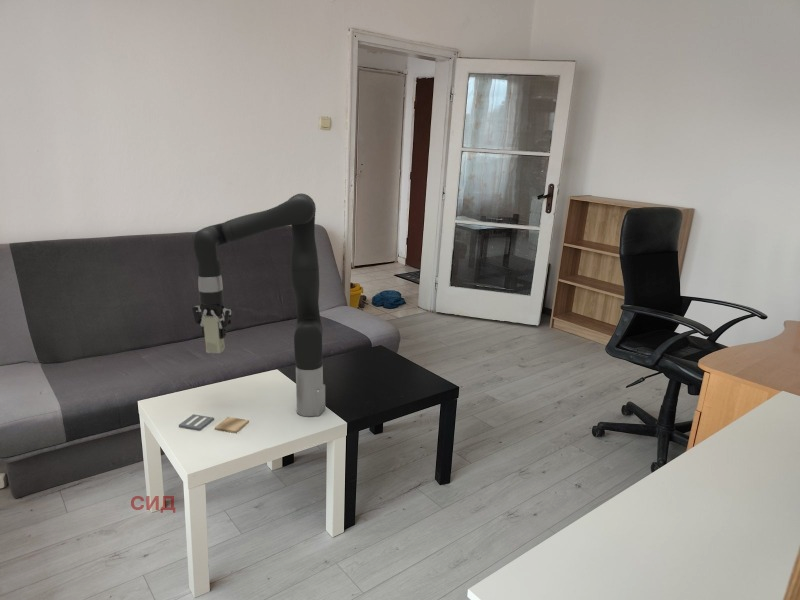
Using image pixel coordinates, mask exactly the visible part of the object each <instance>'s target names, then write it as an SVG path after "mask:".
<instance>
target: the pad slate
mask: <svg viewBox="0 0 800 600" xmlns="http://www.w3.org/2000/svg"><path fill="white" fill-rule="evenodd" d="M214 420H215V417H213V416H206V415H200V414H192V415H190V416H189V417H187V418H186V419H185V420H183V421H181V422H180V423H179V424H178V428H180V429H181V428H182V429H188V430H193V431H198V432H199V431H202V430H203V429H204V428H205V427H207V426H208V425H210V424H211V423H212V422H213V421H214Z"/></svg>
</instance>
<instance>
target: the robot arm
mask: <svg viewBox="0 0 800 600" xmlns="http://www.w3.org/2000/svg"><path fill="white" fill-rule="evenodd" d="M316 209H317V208H316V203H315V201H314V199H313V198H312V197H311V196H309V194H306V193H296V194H294V195H293V196H291V197H289V198H288V199H287V200H286V201H283V202H282V203H280V204H278V205H277V206H275V207H272V208H269V209H266V210H262V211H261V210H260V211H258V212H253V213H249V214H245V215H241V216H238V217H235V218H232V219H230V220H229V219H228V220H226V221H224V222H221V223H217V224H212V225H209V226H206V227H203V228H202V229H199V230H197V231H196V232H195V234H194V235H193V238H192V239H193V249H194V254H195V258H196V262H197V273H198V278H197V279H198V280H197V283H198V286H197V287H198V297H199V303H200V305H198V304H197V305H194V306H193V307H192V314H193V317H194V321H195V324H196V325H200V327H201V334H202V337H204V338H205V334H204V324H203V316H213V317H217V322H218V326H219V337H220V339H223V338H224V339H225V338H226V336H227V329H226V328H227V327H229V326H231V324H232V318H233V308H229V309H228V308H226V307H225V305H224V287H223V285H224V284H223V278H222V269H221V267H222V266H221V261H220V258H218V253H217V247H219V246H222V245H225V244H227V243H235V242H237V241H239V242H240V241H241V240H245V239H248V238H251V237H253V236H256V235H260V234H262V233H264V232H268V231H271V230H275V229H277V228H281V227H283V228H284V227H288V226H290V227H291V232H292V233H291V234H292V236H291V237H292V241H291V252H290V264H289V265H290V266H289V267H290V277H291V286H292V290H293V294H294V298H295V301H296V313H297V314H296V315H297V316H296V326H295V331H294V334H293V335H294V336H293V339H294V340H293V344H294V345H293V347H294V361H295V391H296V392H295V393H296V395H295V396H296V413H297V414H298V415H300V416H302V417H315V416H316V417H320V416H321V414H322V413H323V412H324V411H325V410H326V384H324V378H323V377H324V376H323V374H324V371H323V370H324V369H323V367H324V364H323V363H324V361H323V326H322V320H321V315H320V306H319V297H320V266H319V257H318V249H317V243H316V236H315V233H316V232H315V231H316V230H315V229H316V228H315V225H316V224H315V223H316V222H315V221H316ZM220 316H221V318H220V319H219V318H218V317H220Z"/></svg>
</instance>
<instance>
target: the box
mask: <svg viewBox="0 0 800 600" xmlns="http://www.w3.org/2000/svg"><path fill="white" fill-rule="evenodd" d="M202 316H203V315H202ZM218 318H219V319H220V318H221V316H220V317H218ZM203 324H204V334H205V337H204V344H205V352H206V353H208V354H209V353H210V354H221V353H223V351H224V350H225V349H226V346H225V338H223V339H220V337H219V326H218V322H217V317H213V316H203Z"/></svg>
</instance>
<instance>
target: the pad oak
mask: <svg viewBox="0 0 800 600" xmlns="http://www.w3.org/2000/svg"><path fill="white" fill-rule="evenodd" d="M249 423H250V420H249V419H244V418H237V417H231V416H226V417H225V418H224V419H223V420H222V421H221V422H219V423H218V424H216V426H214V427H213V428H214V431H220V432H224V431H225V432H226V433H230V432H231V434H238V433H240V431H242V429H243V428H244V427H246V426H247V425H248V424H249ZM246 424H247V425H246ZM237 432H238V433H237Z"/></svg>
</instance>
